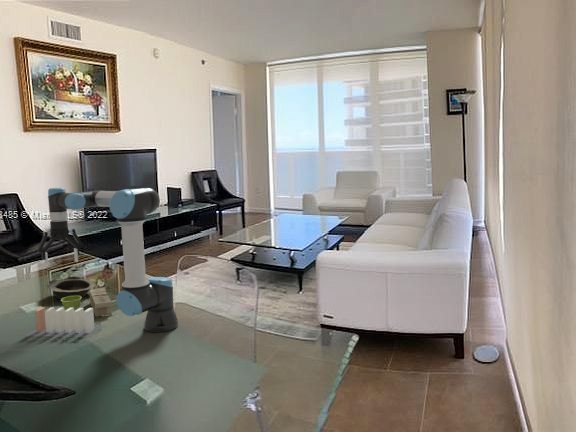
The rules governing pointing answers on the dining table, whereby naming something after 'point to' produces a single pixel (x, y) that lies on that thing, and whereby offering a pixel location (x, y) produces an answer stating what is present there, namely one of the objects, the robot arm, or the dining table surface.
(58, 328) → the domino
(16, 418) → the dining table surface
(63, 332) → the felt runner
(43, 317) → the domino
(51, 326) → the domino
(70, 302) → the plant pot
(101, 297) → the block tower
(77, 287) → the stone bowl
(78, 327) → the domino
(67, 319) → the domino
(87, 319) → the domino
